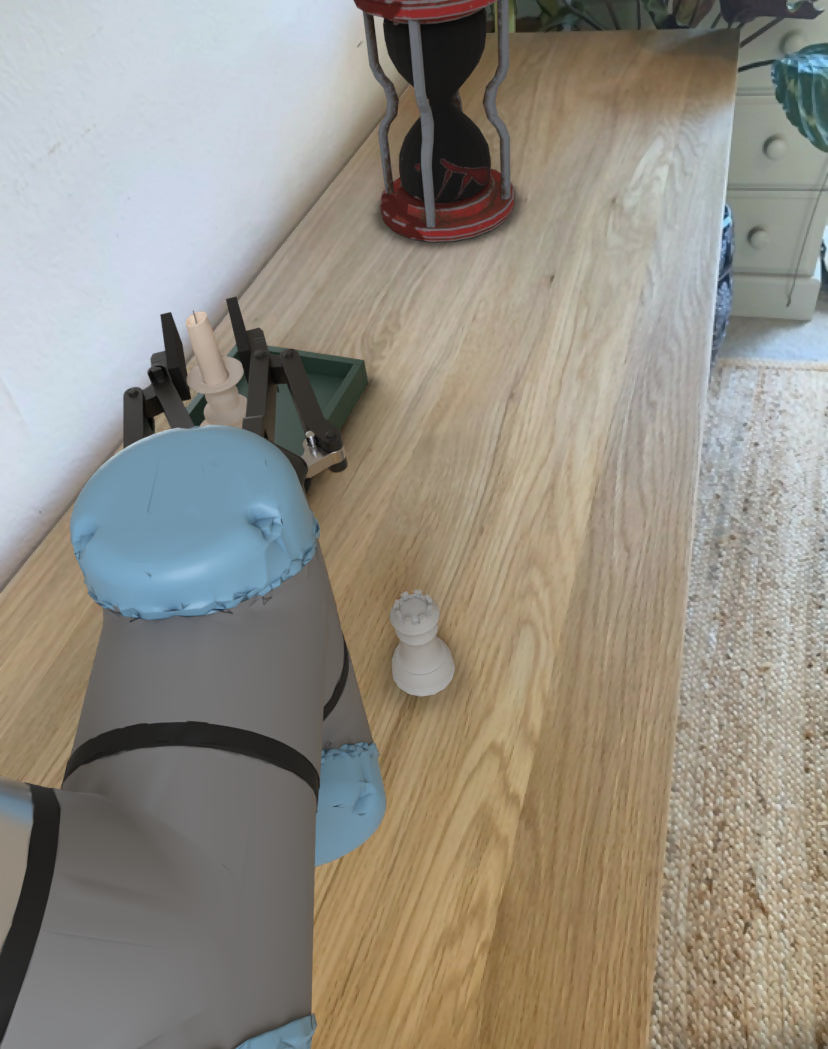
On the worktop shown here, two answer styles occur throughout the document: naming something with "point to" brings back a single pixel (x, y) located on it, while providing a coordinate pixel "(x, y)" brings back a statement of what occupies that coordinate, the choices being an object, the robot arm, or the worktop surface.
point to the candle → (215, 375)
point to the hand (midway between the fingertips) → (203, 322)
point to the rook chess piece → (419, 646)
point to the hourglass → (441, 118)
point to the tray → (332, 386)
